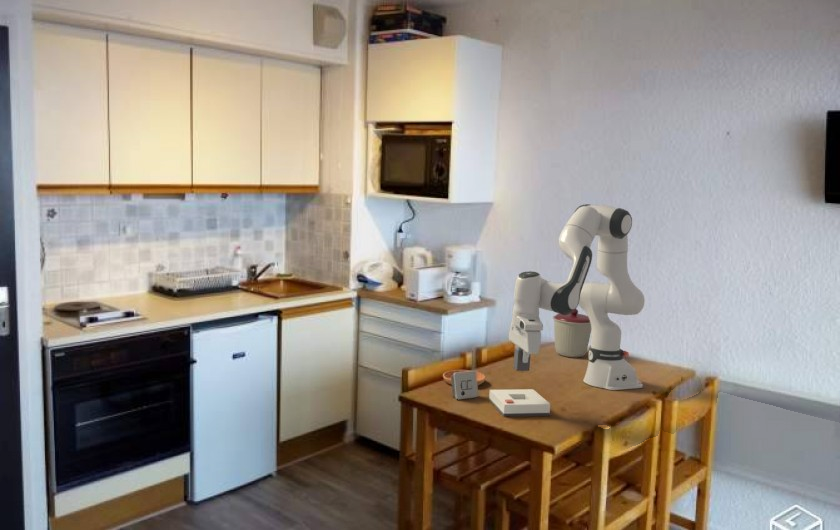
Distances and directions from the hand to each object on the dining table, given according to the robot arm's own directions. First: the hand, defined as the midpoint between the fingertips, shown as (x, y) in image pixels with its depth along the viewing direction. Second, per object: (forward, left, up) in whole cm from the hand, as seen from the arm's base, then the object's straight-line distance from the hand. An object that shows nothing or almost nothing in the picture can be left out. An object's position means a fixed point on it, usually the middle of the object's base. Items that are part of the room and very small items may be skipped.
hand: (522, 360), depth 246 cm
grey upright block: (0, 0, -3) cm, 3 cm away
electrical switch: (+16, -13, -17) cm, 27 cm away
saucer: (+11, -30, -17) cm, 36 cm away
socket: (0, 0, -17) cm, 17 cm away
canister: (-50, -70, -17) cm, 87 cm away
